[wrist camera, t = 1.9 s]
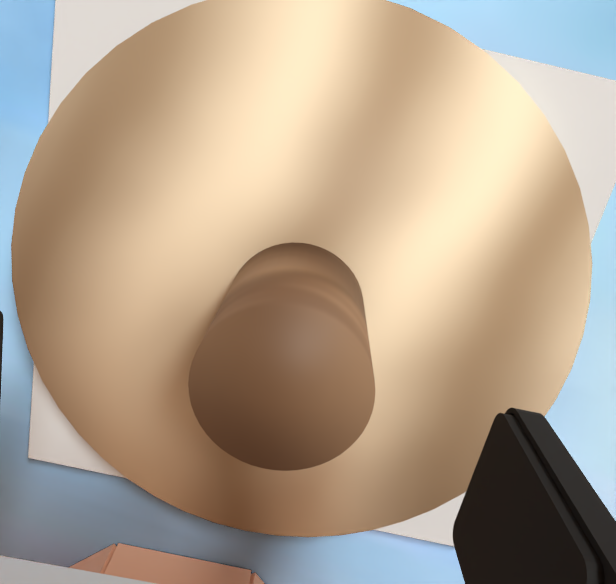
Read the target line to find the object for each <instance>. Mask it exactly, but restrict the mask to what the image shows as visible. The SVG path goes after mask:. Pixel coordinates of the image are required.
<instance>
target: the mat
mask: <svg viewBox="0 0 616 584" xmlns="http://www.w3.org/2000/svg"><path fill="white" fill-rule="evenodd" d="M202 1H206V0H56V2H55V18H54V35H53V52H52V68H51V85H50V102H49V119H48V123H49V121H50V120H51V118H52V116H53V115H54V113H55V111H56V110H57V108H58V107H59V105H60V103H61V102H62V101H63V100H64V99H65V97H66V96H67V95H68V94H69V93H70V91H71V90H72V89H73V88H74V87H75V85H76V84H77V83H78V82H79V81H80V79H81V78H82V77H83V76H84V75H85V73H86V72H88V71H89V70H90V69H91V68H92V67H93V66H94V65H95V64H97V63H98V62H99V61H100V60H101V59H102V58H103V57H104V56H106V55H107V54H108V53H109V52H110V51H111V50H112V49H113V48H115V47H116V46H117V45H118V44H120V43H122V42H123V41H125V40H126V39H128V38H129V37H131V36H132V35H134V34H135V33H137V32H138V31H140V30H141V29H143V28H145V27H146V26H148V25H149V24H151V23H152V22H154V21H157V20H159V19H161V18H163V17H165V16H168V15H170V14H172V13H174V12H176V11H179V10H181V9H183V8H185V7H187V6H189V5H192V4H195V3H199V2H202ZM482 50H483V51H485V52H486V53H488V54H489V55H490V56H491V57H492V58H493V59H494V60H495V61H496V62H497V63H498V64H499V65H500V66H501V67H503V68H504V69H505V70H506V71H507V72H508V73H509V74H510V75H511V76H512V77H513V78H514V79H515V80H517V81H518V82H519V84H520V85H521V86H522V87H523V89H524V90H525V91H526V92H527V94H528V95H529V96H530V97H531V99H532V100H533V101H534V102H535V104H536V105H537V106H538V107H539V109H540V110H541V111H542V113H543V114H544V115H545V117H546V118H547V120H548V122H549V124H550V125H551V127H552V129H553V131H554V132H555V134H556V136H557V137H558V139H559V141H560V143H561V144H562V146H563V148H564V149H565V152H566V154H567V157H568V159H569V162H570V164H571V167H572V169H573V172H574V174H575V177H576V179H577V182H578V184H579V187H580V190H581V195H582V199H583V203H584V207H585V211H586V216H587V220H588V224H589V233H590V245H591V242H592V240H593V237H594V235H595V232H596V230H597V227H598V225H599V222H600V220H601V217H602V215H603V212H604V210H605V207H606V205H607V202H608V200H609V197H610V195H611V193H612V190H613V188H614V185H615V183H616V81H615V80H611V79H606V78H602V77H598V76H594V75H590V74H585V73H581V72H577V71H573V70H569V69H564V68H560V67H556V66H552V65H548V64H543V63H539V62H535V61H531V60H527V59H522V58H518V57H514V56H510V55H506V54H501V53H497V52H493V51H489V50H485V49H482ZM28 458H32V459H37V460H41V461H46V462H51V463H56V464H61V465H65V466H70V467H75V468H80V469H85V470H90V471H94V472H99V473H104V474H109V475H114V476H118V477H123V478H126V477H125V476H124V475H122V474H121V473H120V472H119V471H117V470H116V469H115V468H114V467H113V466H111V465H110V464H109V463H108V462H106V461H105V460H104V459H103V458H102V457H101V456H100V455H99V454H98V453H97V452H96V451H95V450H94V449H93V448H92V447H91V446H90V445H89V444H88V443H87V442H86V441H85V440H84V439H83V438H82V437H81V436H80V435H79V434H78V432H77V431H76V430H75V428H74V427H73V426H72V425H71V423H70V422H69V421H68V419H67V418H66V417H65V415H64V414H63V413H62V412H61V410H60V409H59V408H58V406H57V404H56V403H55V401H54V399H53V398H52V396H51V394H50V393H49V391H48V389H47V388H46V386H45V384H44V383H43V381H42V379H41V377H40V375H39V372H38V370H37V368H36V366H35V363H34V369H33V386H32V403H31V419H30V436H29V453H28ZM465 493H466V492H465ZM465 493H463V494H461V495H460V496H458V497H456V498H454V499H452V500H450V501H448V502H447V503H445V504H443V505H441V506H439V507H437V508H435V509H433V510H431V511H428V512H426V513H423V514H421V515H418V516H416V517H413V518H411V519H408V520H406V521H403V522H400V523H396V524H392V525H389V526H385V527H381V528H378V529H374V530H378V531H383V532H388V533H392V534H397V535H402V536H407V537H412V538H416V539H421V540H426V541H431V542H436V543H441V544H445V545H450V546H454V543H453V526H454V522H455V519H456V517H457V514H458V511H459V509H460V506H461V504H462V501H463V498H464V496H465Z"/></svg>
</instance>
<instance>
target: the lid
mask: <svg viewBox="0 0 616 584" xmlns="http://www.w3.org/2000/svg"><path fill="white" fill-rule="evenodd" d="M11 250H12V282H13V288H14V294H15V300H16V307H17V313H18V317H19V321H20V324H21V327H22V331H23V334H24V337H25V341H26V344H27V347H28V350H29V352H30V354H31V357H32V359H33V361H34V363H35V366H36V368H37V370H38V372H39V375H40V377H41V379H42V381H43V383H44V384H45V386H46V388H47V389H48V391H49V393H50V394H51V396H52V398H53V399H54V401H55V403H56V404H57V406H58V408H59V409H60V410H61V412H62V413H63V414H64V415H65V417H66V418H67V419H68V421H69V422H70V423H71V425H72V426H73V427H74V428H75V430H76V431H77V432H78V434H79V435H80V436H81V437H82V438H83V439H84V440H85V441H86V442H87V443H88V444H89V445H90V446H91V447H92V448H93V449H94V450H95V451H96V452H97V453H98V454H99V455H100V456H101V457H102V458H103V459H104V460H105V461H106V462H108V463H109V464H110V465H111V466H113V467H114V468H115V469H116V470H117V471H119V472H120V473H121V474H122V475H124V476H125V477H126V478H127V479H129V480H130V481H132V482H133V483H135V484H136V485H138V486H140V487H141V488H143V489H144V490H146V491H147V492H149V493H150V494H152V495H153V496H155V497H157V498H159V499H161V500H163V501H165V502H167V503H169V504H171V505H173V506H175V507H177V508H179V509H181V510H183V511H185V512H188V513H190V514H193V515H196V516H198V517H201V518H203V519H206V520H209V521H211V522H214V523H218V524H222V525H226V526H229V527H233V528H237V529H241V530H245V531H251V532H257V533H264V534H270V535H277V536H298V537H318V536H335V535H345V534H351V533H357V532H363V531H369V530H374V529H378V528H381V527H385V526H389V525H392V524H396V523H400V522H403V521H406V520H408V519H411V518H413V517H416V516H418V515H421V514H423V513H426V512H428V511H431V510H433V509H435V508H437V507H439V506H441V505H443V504H445V503H447V502H448V501H450V500H452V499H454V498H456V497H458V496H460V495H461V494H463V493H465V492H466V491H467V488H468V485H469V483H470V480H471V478H472V475H473V473H474V470H475V467H476V465H477V462H478V460H479V457H480V454H481V452H482V449H483V447H484V444H485V442H486V439H487V436H488V434H489V431H490V429H491V426H492V423H493V421H494V419H495V417H496V415H497V414H498V413H504V414H505V412H506V411H507V410H508V409H509V408H511V407H512V408H517V409H521V410H526V411H531V412H536V413H541V414H542V415H543V416H545V415H546V413H547V412H548V410H549V409H550V408H551V406H552V405H553V403H554V402H555V400H556V398H557V396H558V394H559V392H560V390H561V388H562V386H563V384H564V382H565V381H566V379H567V377H568V375H569V373H570V371H571V369H572V366H573V363H574V360H575V357H576V354H577V351H578V348H579V345H580V343H581V340H582V337H583V333H584V328H585V323H586V318H587V313H588V308H589V303H590V292H591V274H592V256H591V245H590V233H589V224H588V220H587V216H586V211H585V207H584V203H583V199H582V195H581V190H580V187H579V184H578V182H577V179H576V177H575V174H574V172H573V169H572V167H571V164H570V162H569V159H568V157H567V154H566V152H565V149H564V148H563V146H562V144H561V143H560V141H559V139H558V137H557V136H556V134H555V132H554V131H553V129H552V127H551V125H550V124H549V122H548V120H547V118H546V117H545V115H544V114H543V113H542V111H541V110H540V109H539V107H538V106H537V105H536V104H535V102H534V101H533V100H532V99H531V97H530V96H529V95H528V94H527V92H526V91H525V90H524V89H523V87H522V86H521V85H520V84H519V82H518V81H517V80H515V79H514V78H513V77H512V76H511V75H510V74H509V73H508V72H507V71H506V70H505V69H504V68H503V67H501V66H500V65H499V64H498V63H497V62H496V61H495V60H494V59H493V58H492V57H491V56H490V55H489V54H488V53H486V52H485V51H483V50H482V49H481V48H479V47H478V46H476V45H475V44H473V43H472V42H470V41H469V40H467V39H466V38H465V37H463V36H462V35H460V34H459V33H457V32H456V31H454V30H453V29H451V28H450V27H448V26H446V25H444V24H442V23H440V22H438V21H436V20H433V19H431V18H429V17H427V16H425V15H423V14H421V13H419V12H417V11H415V10H413V9H411V8H408V7H405V6H402V5H399V4H396V3H393V2H389V1H386V0H206V1H202V2H199V3H195V4H192V5H189V6H187V7H185V8H183V9H181V10H179V11H176V12H174V13H172V14H170V15H168V16H165V17H163V18H161V19H159V20H157V21H154V22H152V23H151V24H149V25H148V26H146V27H145V28H143V29H141V30H140V31H138V32H137V33H135V34H134V35H132V36H131V37H129V38H128V39H126V40H125V41H123V42H122V43H120V44H118V45H117V46H116V47H115V48H113V49H112V50H111V51H110V52H109V53H108V54H107V55H106V56H104V57H103V58H102V59H101V60H100V61H99V62H98V63H97V64H95V65H94V66H93V67H92V68H91V69H90V70H89V71H88V72H86V73H85V75H84V76H83V77H82V78H81V79H80V81H79V82H78V83H77V84H76V85H75V87H74V88H73V89H72V90H71V91H70V93H69V94H68V95H67V96H66V97H65V99H64V100H63V101H62V102H61V103H60V105H59V107H58V108H57V110H56V111H55V113H54V115H53V116H52V118H51V120H50V121H49V123H48V125H47V126H46V128H45V130H44V131H43V133H42V135H41V136H40V138H39V140H38V143H37V145H36V147H35V150H34V152H33V155H32V157H31V159H30V162H29V164H28V166H27V169H26V171H25V174H24V178H23V182H22V186H21V189H20V193H19V197H18V201H17V205H16V209H15V217H14V226H13V235H12V244H11Z"/></svg>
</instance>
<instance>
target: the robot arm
mask: <svg viewBox="0 0 616 584" xmlns="http://www.w3.org/2000/svg"><path fill="white" fill-rule="evenodd" d="M2 342H3V314H2V312H1V311H0V397H1V370H2ZM453 543H454V547H455V550H456V554H457V557H458V560H459V564H460V567H461V571H462V574H463V578H464V581H465V584H616V521H615V520H614V518H613V517H612V515H611V514H610V513H609V511H608V510H607V508H606V507H605V505H604V504H603V502H602V501H601V499H600V498H599V496H598V495H597V493H596V492H595V490H594V489H593V488H592V486H591V485H590V483H589V482H588V480H587V479H586V477H585V476H584V474H583V473H582V471H581V470H580V468H579V467H578V465H577V464H576V463H575V461H574V460H573V458H572V457H571V455H570V454H569V452H568V451H567V449H566V448H565V446H564V445H563V443H562V442H561V440H560V439H559V438H558V436H557V435H556V433H555V432H554V430H553V429H552V427H551V426H550V424H549V423H548V421H547V420H546V418H545V417H544V416H543V415H542V414H541V413H536V412H531V411H526V410H521V409H517V408H512V407H511V408H509V409H508V410H507V411H506V412H505V414H504V413H498V414H497V415H496V417H495V419H494V421H493V423H492V426H491V429H490V431H489V434H488V436H487V439H486V442H485V444H484V447H483V449H482V452H481V454H480V457H479V460H478V462H477V465H476V467H475V470H474V473H473V475H472V478H471V480H470V483H469V485H468V488H467V491H466V493H465V496H464V498H463V501H462V504H461V506H460V509H459V511H458V514H457V517H456V519H455V522H454V526H453ZM0 584H157V583H151V582H145V581H140V580H134V579H129V578H123V577H118V576H112V575H107V574H101V573H96V572H90V571H84V570H79V569H73V568H68V567H62V566H57V565H51V564H46V563H40V562H35V561H29V560H24V559H18V558H12V557H6V556H1V555H0Z"/></svg>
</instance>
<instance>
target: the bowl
mask: <svg viewBox="0 0 616 584" xmlns="http://www.w3.org/2000/svg"><path fill="white" fill-rule="evenodd" d="M68 568H73V569H79V570H84V571H90V572H96V573H101V574H107V575H112V576H118V577H123V578H129V579H134V580H140V581H145V582H151V583H157V584H265V583H264V582H263V581H262V580H261V579H260V577H259V576H258V575H257V574H256V573H253V574H251V570H248V569H243V568H238V567H233V566H228V565H224V564H219V563H214V562H209V561H204V560H199V559H194V558H189V557H184V556H179V555H175V554H170V553H165V552H160V551H155V550H150V549H145V548H140V547H135V546H130V545H126V544H121V543H118V545H117V546H116V545H115V544H112V545H110V546H109V547H107V548H105V549H103V550H101V551H99V552H97V553H95V554H93V555H91V556H89V557H87V558H86V559H84V560H82V561H80V562H78V563H76V564H74V565H72V566H70V567H68Z"/></svg>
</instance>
